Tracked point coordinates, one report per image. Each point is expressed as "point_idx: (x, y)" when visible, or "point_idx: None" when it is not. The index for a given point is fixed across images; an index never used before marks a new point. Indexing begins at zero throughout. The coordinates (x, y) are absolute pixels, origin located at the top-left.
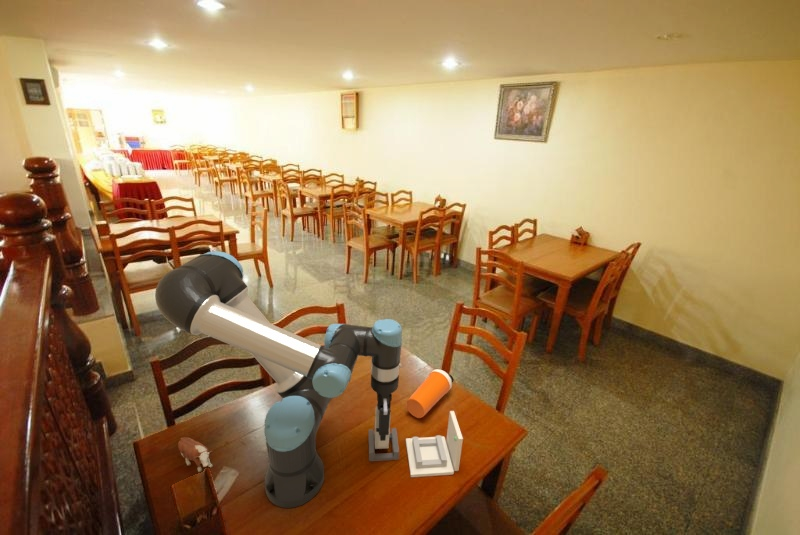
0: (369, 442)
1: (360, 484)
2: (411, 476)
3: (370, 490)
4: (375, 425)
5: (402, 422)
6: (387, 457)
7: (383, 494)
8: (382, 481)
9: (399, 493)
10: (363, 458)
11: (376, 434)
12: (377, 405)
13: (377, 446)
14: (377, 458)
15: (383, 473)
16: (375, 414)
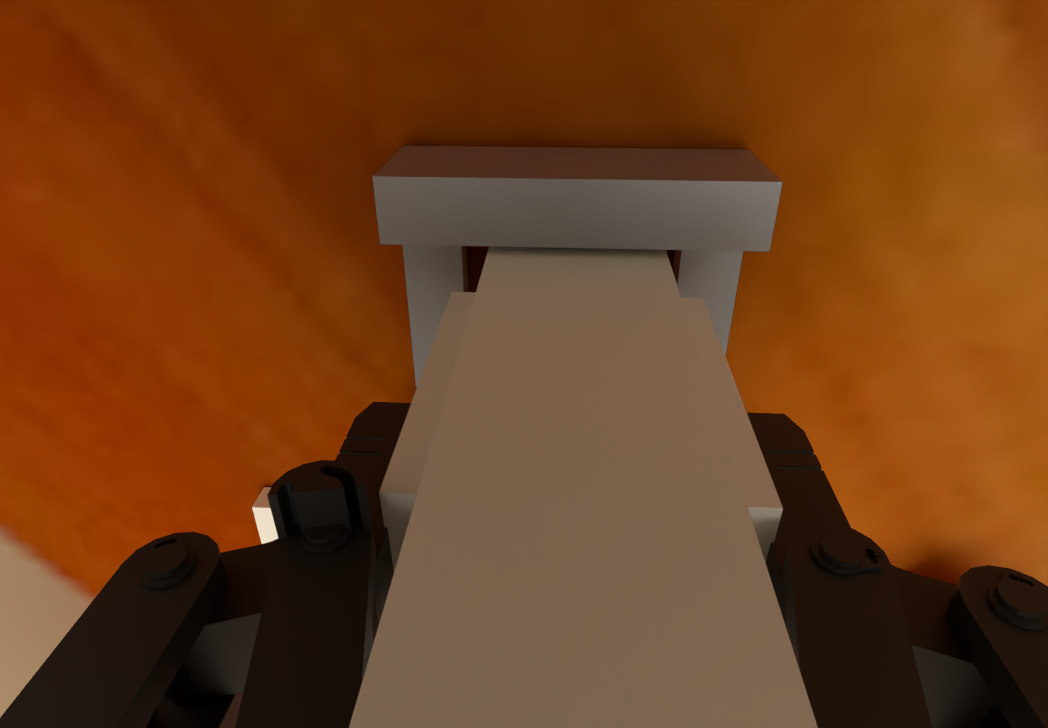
0: (552, 186)
1: (111, 35)
2: (260, 497)
3: (72, 148)
4: (538, 429)
5: (851, 504)
6: (415, 348)
7: (66, 268)
8: (189, 269)
9: (109, 393)
10: (442, 76)
11: (457, 373)
12: (1005, 616)
13: (450, 295)
14: (403, 248)
15: (274, 284)
16: (700, 556)
